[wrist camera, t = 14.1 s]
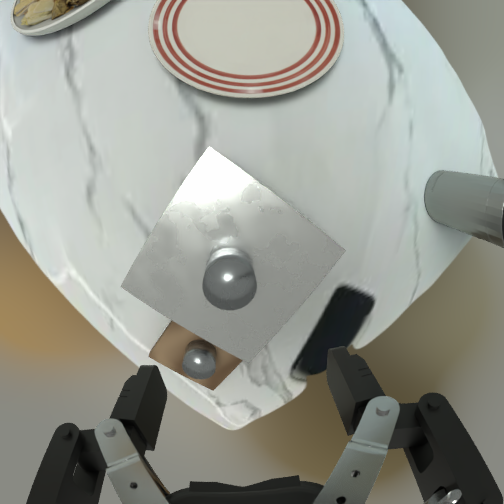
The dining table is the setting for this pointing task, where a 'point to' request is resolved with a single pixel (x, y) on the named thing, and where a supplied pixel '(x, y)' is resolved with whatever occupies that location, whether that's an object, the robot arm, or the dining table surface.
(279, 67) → the dinner plate
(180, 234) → the pan
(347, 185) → the dining table surface
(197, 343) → the cylinder
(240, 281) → the cylinder
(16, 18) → the bowl
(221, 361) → the walnut board
